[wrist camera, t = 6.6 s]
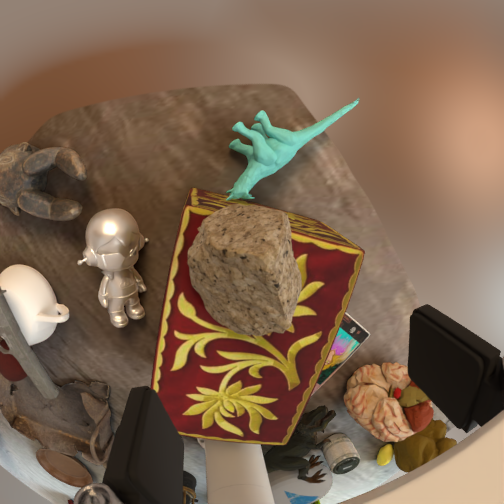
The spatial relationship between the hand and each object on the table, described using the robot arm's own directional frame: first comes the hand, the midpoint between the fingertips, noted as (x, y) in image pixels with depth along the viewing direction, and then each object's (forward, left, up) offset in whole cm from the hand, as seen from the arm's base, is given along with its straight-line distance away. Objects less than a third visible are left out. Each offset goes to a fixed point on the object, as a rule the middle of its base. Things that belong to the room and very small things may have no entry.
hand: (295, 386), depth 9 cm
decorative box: (+9, +3, -32) cm, 33 cm away
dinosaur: (-18, -1, -30) cm, 35 cm away
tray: (+40, -25, -32) cm, 57 cm away
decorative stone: (+51, +30, -32) cm, 67 cm away
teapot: (+18, -28, -32) cm, 46 cm away
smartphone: (+7, +24, -32) cm, 40 cm away
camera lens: (+35, +33, -32) cm, 57 cm away
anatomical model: (+12, +34, -20) cm, 41 cm away
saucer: (+61, -22, -32) cm, 72 cm away
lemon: (+39, +50, -32) cm, 71 cm away
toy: (+42, +28, -28) cm, 57 cm away
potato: (+29, -27, -24) cm, 46 cm away
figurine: (+8, -13, -32) cm, 35 cm away
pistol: (+24, -32, -20) cm, 45 cm away
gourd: (+25, +57, -30) cm, 69 cm away
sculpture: (-3, -30, -34) cm, 46 cm away
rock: (0, 0, -17) cm, 17 cm away
